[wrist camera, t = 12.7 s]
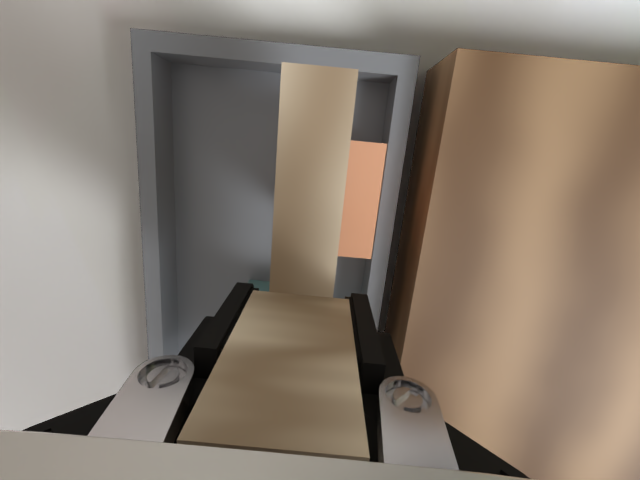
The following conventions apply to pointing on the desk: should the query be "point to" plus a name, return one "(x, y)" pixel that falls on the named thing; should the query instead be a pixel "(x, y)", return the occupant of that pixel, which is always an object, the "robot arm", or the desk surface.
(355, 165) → the terracotta tile
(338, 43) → the desk surface
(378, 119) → the box
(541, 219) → the brown wooden board
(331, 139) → the scraper
